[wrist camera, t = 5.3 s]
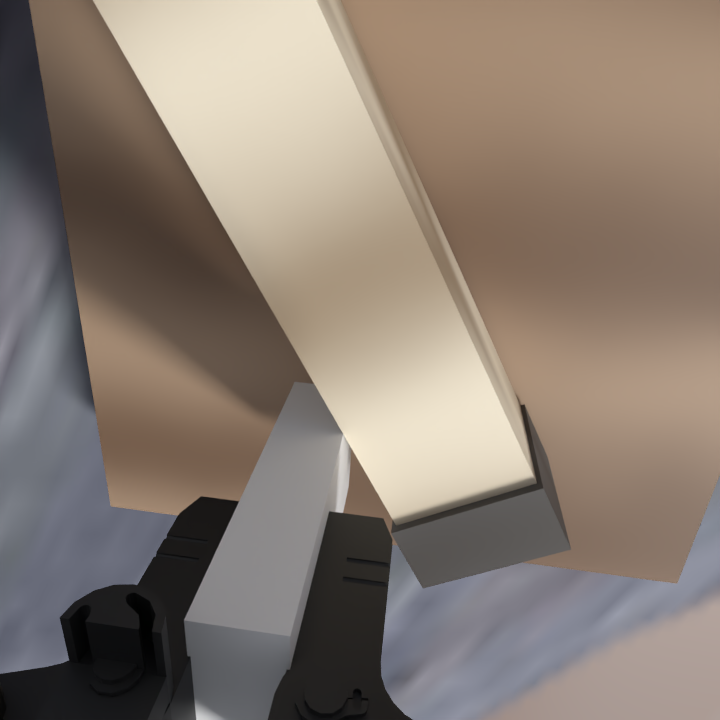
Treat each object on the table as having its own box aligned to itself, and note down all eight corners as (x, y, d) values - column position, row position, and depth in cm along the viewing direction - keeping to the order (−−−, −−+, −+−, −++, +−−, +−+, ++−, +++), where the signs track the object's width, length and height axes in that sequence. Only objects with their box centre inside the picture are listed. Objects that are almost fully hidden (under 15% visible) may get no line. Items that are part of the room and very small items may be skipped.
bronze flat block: (63, -353, 12) (-360, -813, 6) (997, -356, 10) (1836, -1005, 4) (155, 449, 20) (25, 616, 14) (677, 514, 19) (792, 737, 13)
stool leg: (47, -188, 10) (-103, -284, 8) (215, -332, 9) (113, -505, 7) (420, 496, 16) (414, 590, 13) (555, 454, 15) (581, 547, 12)
